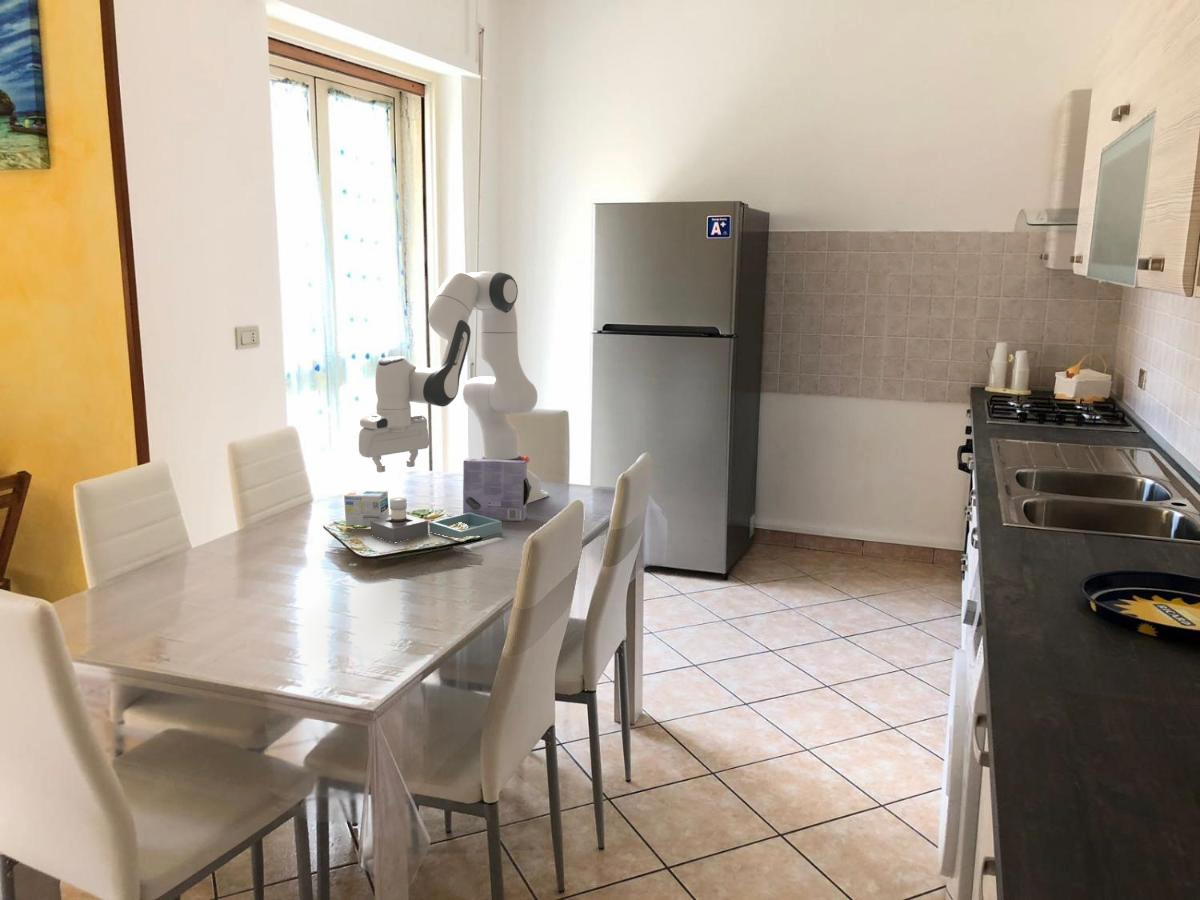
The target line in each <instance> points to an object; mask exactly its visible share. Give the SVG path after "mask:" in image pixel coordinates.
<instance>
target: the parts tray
mask: <svg viewBox="0 0 1200 900" xmlns="http://www.w3.org/2000/svg"><path fill="white" fill-rule="evenodd" d="M458 522H462V523H465V524H467V525H468V526H469V527H470V528H469V529H465V530H459V529H456V528H453V527H449V525H453V524H456V523H458ZM428 530H429V533H430V532H432V533H436V534H440V535H444V536H448V537H454V538H463V537H466V536H477V535H478V536H480V537H481V538H484V537H488V536H492V535H495V536H492V537H488V538H485V539H482V540H481V538H480V540H478V541H473V542H471V543H470V542H469V543H467V544H463V545H461V547H465V546H469V545H471V544H475V543H479V542H482V541H486V540H490V539H493V538H498V537H500V536H502V534H503V524H502V521H499V520H495V519H492V518H488V517H485V516H481V515H478V514H474V513H471V512H468V513H464V514H463V513H461V514H456V515H452V516H448V517H444V518H441V519H437V520H433V521H428ZM432 533H431V534H432ZM496 534H500V535H496Z"/></svg>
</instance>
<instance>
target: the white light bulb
mask: <svg viewBox="0 0 1200 900" xmlns="http://www.w3.org/2000/svg"><path fill="white" fill-rule="evenodd" d="M407 504H408V503H407V498H406V497H402V496H401V497H400V496H399V497H393V498H390V499H389V508H390V509H389V510H390V517H391V522H392V524H395V525H398V524H402V523H406V522H407V516H406V514H407V508H408V505H407Z"/></svg>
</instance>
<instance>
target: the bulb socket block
mask: <svg viewBox="0 0 1200 900" xmlns="http://www.w3.org/2000/svg"><path fill="white" fill-rule="evenodd" d="M406 516H407V522H406V523H402V524H398V525H395V524H392V522H391V516H389V517H386V518H382V519H378V520H373V521H370V525H371V530H370V536H371V535H373V536H372V537H374V536H375V538H377V537H379V538H382V539H384V540H383V541H385V540H387V541H386V542H388V541H391V542H393V543H392V544H394V543H395V542H399V543H401V542H400V541H403V542H405V541H404V540H407V539H411V540H413V539H412V538H415V539H418V538H417V537H419V538H422V537H426V536H428V535H429V521H428V520H427V519H425V518H421V517H418V516H414V515H411V514H408V513H406ZM427 534H428V535H427ZM425 535H426V536H425ZM421 536H422V537H421ZM379 538H378V539H379ZM382 539H381V540H382ZM407 541H408V540H407ZM391 542H390V543H391ZM395 544H396V543H395Z"/></svg>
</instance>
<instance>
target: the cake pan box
mask: <svg viewBox="0 0 1200 900" xmlns="http://www.w3.org/2000/svg"><path fill="white" fill-rule="evenodd" d="M527 464H528V463H527V461H516V460H495V459H482V458H466V459H465V458H464V460H463V466H462V467H463V468H462V469H463V475H462V476H463V477H462V478H463V479H462V483H463V485H462V487H463V488H462V494H463V495H462V501H463V502H462V514H464V513H468V512H471V513H474V514H478V515H481V516H485V517H488V518H492V519H495V520H499V521H505V522H508V521H509V522H524V521H526V519H527V504H526V503H527V500H528V498H529V494H530V486H529V482H528V479H527V468H528V466H527Z"/></svg>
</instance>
